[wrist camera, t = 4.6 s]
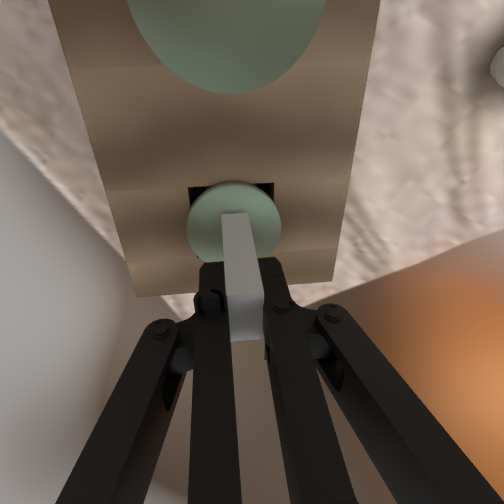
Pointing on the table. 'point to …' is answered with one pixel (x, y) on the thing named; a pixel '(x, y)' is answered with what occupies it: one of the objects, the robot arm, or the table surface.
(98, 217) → the table surface
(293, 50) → the near plunger
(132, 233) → the socket block
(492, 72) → the yellow light bulb
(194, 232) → the far plunger
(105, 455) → the robot arm
